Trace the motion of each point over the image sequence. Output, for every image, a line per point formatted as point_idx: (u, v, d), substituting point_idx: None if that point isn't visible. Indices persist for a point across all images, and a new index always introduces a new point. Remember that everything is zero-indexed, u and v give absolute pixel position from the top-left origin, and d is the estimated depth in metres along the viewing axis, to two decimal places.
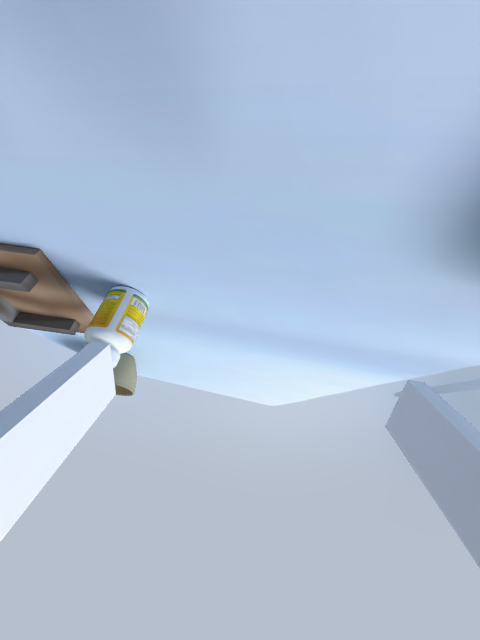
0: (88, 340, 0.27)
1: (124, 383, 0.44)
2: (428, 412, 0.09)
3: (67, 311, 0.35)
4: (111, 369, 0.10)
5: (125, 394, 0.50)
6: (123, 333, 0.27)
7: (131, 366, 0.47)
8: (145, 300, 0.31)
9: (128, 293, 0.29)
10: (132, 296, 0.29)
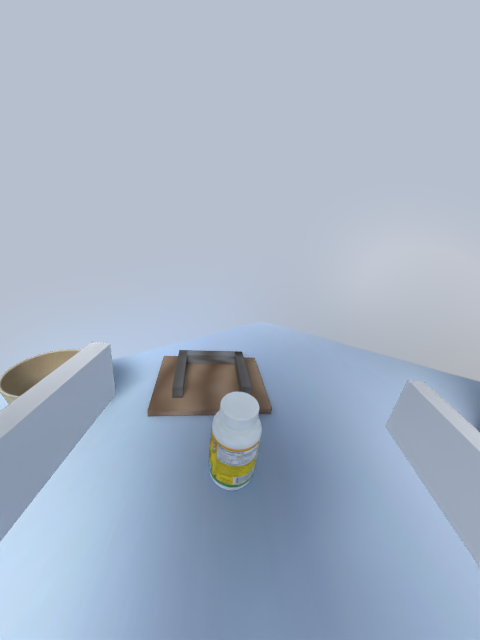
0: None
1: None
2: (428, 412, 0.09)
3: (196, 397, 0.36)
4: (111, 369, 0.10)
5: (2, 381, 0.26)
6: (254, 446, 0.23)
7: None
8: (241, 486, 0.25)
9: None
10: (253, 471, 0.26)
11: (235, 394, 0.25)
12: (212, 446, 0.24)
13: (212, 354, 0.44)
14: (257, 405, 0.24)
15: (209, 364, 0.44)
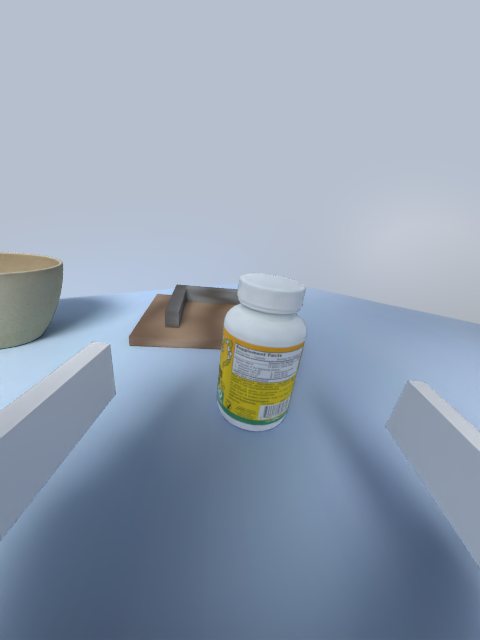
0: None
1: None
2: (428, 412, 0.09)
3: (198, 328, 0.26)
4: (111, 369, 0.10)
5: None
6: (297, 348, 0.13)
7: None
8: (270, 425, 0.15)
9: None
10: (288, 405, 0.16)
11: (261, 275, 0.15)
12: (224, 355, 0.14)
13: (218, 290, 0.34)
14: (301, 284, 0.14)
15: (214, 303, 0.34)
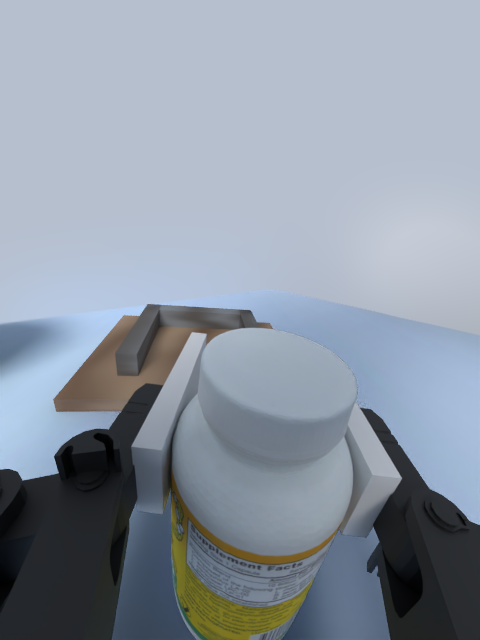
0: None
1: None
2: None
3: (167, 375, 0.18)
4: None
5: None
6: (338, 528, 0.06)
7: None
8: None
9: None
10: None
11: (254, 334, 0.07)
12: (173, 514, 0.07)
13: (202, 310, 0.26)
14: (342, 364, 0.06)
15: (197, 328, 0.26)
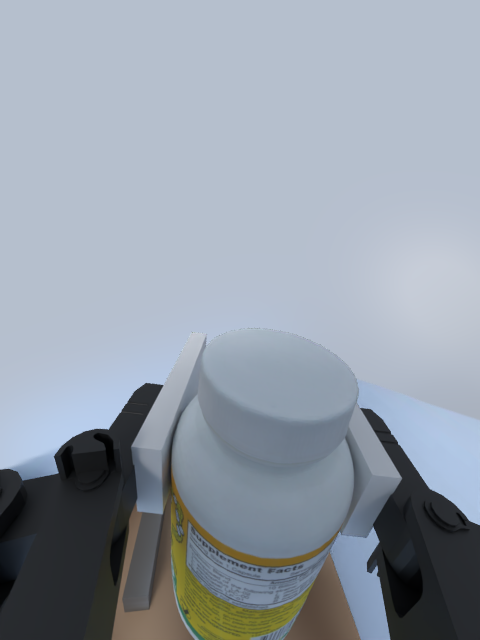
0: None
1: None
2: None
3: None
4: None
5: None
6: (339, 530, 0.06)
7: None
8: None
9: None
10: None
11: (254, 334, 0.07)
12: (173, 516, 0.07)
13: None
14: (342, 365, 0.06)
15: None
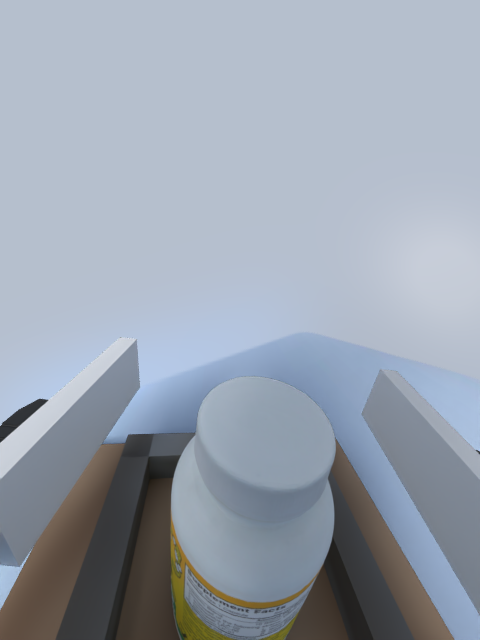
0: None
1: None
2: (396, 398, 0.09)
3: None
4: (137, 363, 0.11)
5: None
6: (318, 572, 0.06)
7: None
8: None
9: None
10: None
11: (246, 385, 0.08)
12: (172, 552, 0.07)
13: None
14: (324, 420, 0.07)
15: None
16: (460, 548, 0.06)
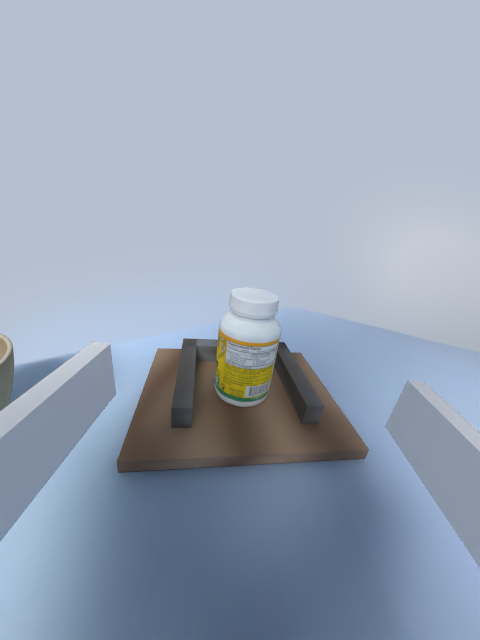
0: None
1: None
2: (428, 412, 0.09)
3: (219, 425, 0.18)
4: (111, 369, 0.10)
5: None
6: (272, 343, 0.18)
7: None
8: (255, 402, 0.20)
9: (269, 386, 0.21)
10: None
11: (247, 289, 0.20)
12: (220, 349, 0.19)
13: None
14: (276, 296, 0.19)
15: None
16: None
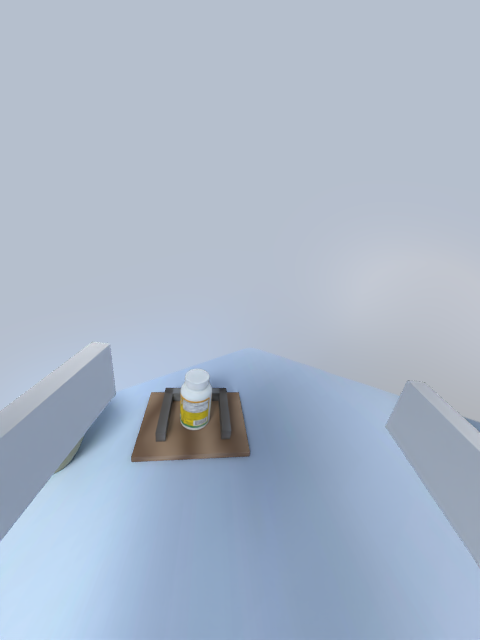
0: None
1: None
2: (428, 412, 0.09)
3: (179, 440, 0.38)
4: (111, 369, 0.10)
5: None
6: (205, 400, 0.38)
7: None
8: (199, 427, 0.39)
9: (209, 418, 0.41)
10: (207, 419, 0.40)
11: (195, 370, 0.40)
12: (180, 401, 0.39)
13: None
14: (208, 376, 0.38)
15: None
16: None
